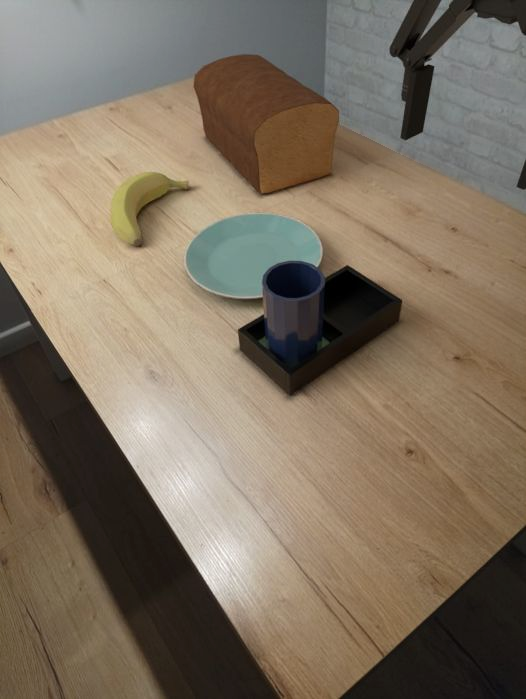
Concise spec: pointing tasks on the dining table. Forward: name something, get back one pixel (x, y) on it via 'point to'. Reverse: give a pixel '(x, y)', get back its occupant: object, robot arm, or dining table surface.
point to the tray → (328, 329)
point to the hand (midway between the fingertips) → (465, 157)
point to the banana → (137, 202)
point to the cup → (293, 310)
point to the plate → (248, 252)
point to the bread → (266, 122)
